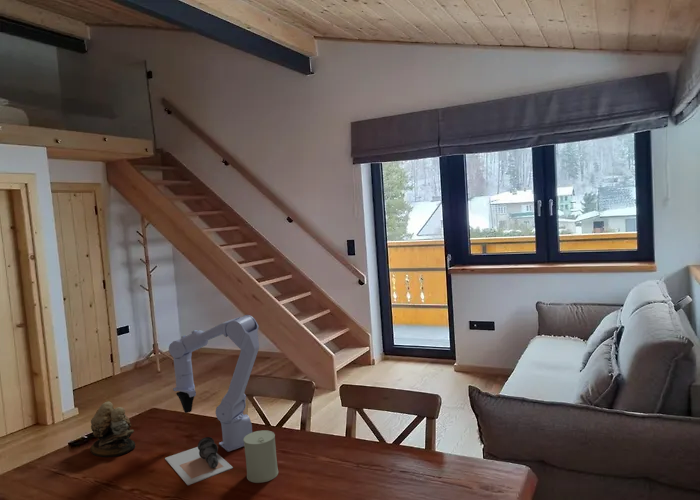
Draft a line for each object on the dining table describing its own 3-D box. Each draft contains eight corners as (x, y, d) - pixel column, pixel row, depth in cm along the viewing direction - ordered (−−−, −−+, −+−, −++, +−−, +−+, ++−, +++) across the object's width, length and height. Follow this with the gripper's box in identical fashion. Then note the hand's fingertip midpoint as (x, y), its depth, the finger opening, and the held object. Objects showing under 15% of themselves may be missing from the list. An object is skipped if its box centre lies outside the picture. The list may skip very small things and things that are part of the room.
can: (252, 486, 146) (248, 445, 145) (243, 472, 154) (239, 434, 153) (282, 476, 150) (279, 436, 149) (272, 463, 158) (269, 425, 157)
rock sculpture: (147, 444, 179) (141, 396, 178) (119, 460, 168) (113, 410, 167) (109, 438, 186) (103, 392, 185) (80, 453, 176) (74, 405, 174)
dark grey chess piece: (194, 452, 165) (202, 475, 154) (199, 435, 164) (208, 458, 154) (212, 452, 168) (221, 476, 157) (217, 436, 167) (227, 458, 157)
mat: (206, 444, 175) (206, 443, 175) (233, 468, 157) (232, 467, 157) (164, 458, 167) (164, 457, 167) (187, 485, 149) (187, 484, 149)
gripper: (165, 371, 180) (169, 409, 181) (179, 381, 169) (183, 421, 170) (185, 366, 184) (189, 403, 186) (200, 375, 173) (204, 415, 174)
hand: (188, 411), depth 178 cm, fingers closed
